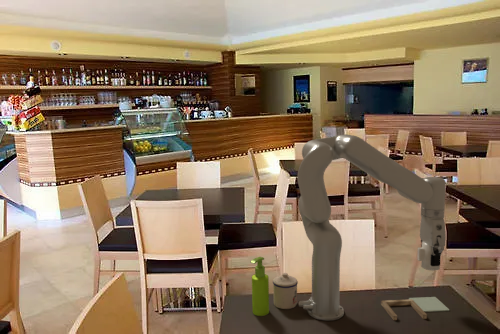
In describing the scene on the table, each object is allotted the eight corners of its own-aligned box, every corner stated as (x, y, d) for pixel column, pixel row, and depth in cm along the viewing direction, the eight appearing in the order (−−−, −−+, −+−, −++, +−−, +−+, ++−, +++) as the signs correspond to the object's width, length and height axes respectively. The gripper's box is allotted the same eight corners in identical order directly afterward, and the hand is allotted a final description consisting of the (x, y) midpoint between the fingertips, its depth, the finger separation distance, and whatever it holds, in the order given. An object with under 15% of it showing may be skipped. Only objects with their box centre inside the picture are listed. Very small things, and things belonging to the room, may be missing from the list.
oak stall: (393, 320, 139) (393, 316, 139) (381, 304, 150) (381, 300, 150) (426, 318, 139) (426, 314, 139) (412, 303, 150) (412, 299, 150)
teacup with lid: (298, 309, 147) (298, 278, 146) (273, 309, 148) (272, 278, 146) (296, 294, 159) (296, 265, 158) (272, 294, 160) (272, 265, 158)
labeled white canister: (445, 270, 144) (446, 245, 143) (421, 271, 144) (422, 246, 142) (436, 263, 150) (437, 239, 149) (414, 264, 150) (414, 240, 148)
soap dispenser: (247, 313, 146) (245, 259, 143) (260, 306, 151) (259, 253, 148) (259, 318, 142) (258, 263, 139) (272, 311, 147) (271, 257, 144)
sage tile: (421, 312, 144) (421, 311, 144) (408, 299, 154) (409, 297, 154) (449, 310, 144) (449, 309, 144) (435, 297, 154) (435, 296, 154)
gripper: (456, 218, 136) (453, 271, 138) (430, 206, 153) (429, 253, 155) (434, 219, 135) (432, 272, 138) (411, 207, 152) (409, 254, 155)
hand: (430, 261), depth 147 cm, fingers closed on labeled white canister, 6 cm apart
